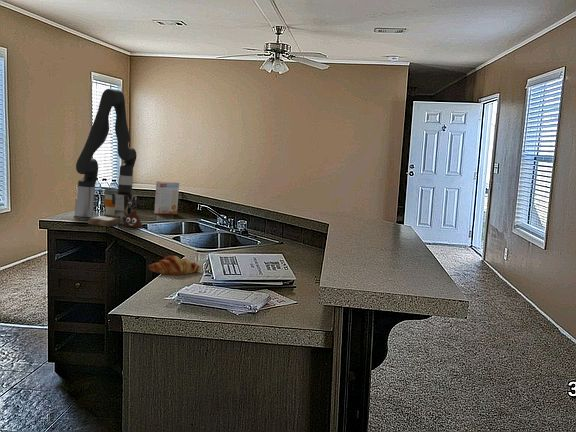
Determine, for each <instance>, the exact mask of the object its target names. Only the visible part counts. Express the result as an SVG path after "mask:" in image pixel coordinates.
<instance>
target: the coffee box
mask: <svg viewBox="0 0 576 432" xmlns="http://www.w3.org/2000/svg"><path fill="white" fill-rule="evenodd" d="M132 196H134V194H132ZM130 201H131V204H132V201H133V200H132V198H131V199H129V195H125V194H116V200H115V212H114V216H113V218H118V219H120V224H119V225H124V222H125V221H126V218H127V217H128V216H129V215H128V208H129V207H128V202H130Z"/></svg>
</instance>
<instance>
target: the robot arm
mask: <svg viewBox="0 0 576 432" xmlns="http://www.w3.org/2000/svg"><path fill="white" fill-rule="evenodd" d="M113 107H114V111H115V123H114V133H115V136H116V141H117V155H118V157H119V158H120V159H121V160H122V161H123V163H122V164H121V165H120V166H119V176H118V183H117V189H118V194H125V195H129V199H131V198H132V200H133V201H132V204H131V201H130V202H128V207H129V208H128V215H130V214H131V212H132V211H133V208H136V205H137V200H138V199H137V198H138V196H136V195H135V196H134V195H133V185H134V182H133V181H134V180H133V179H134V178H133V175H134V173H133V172H134V166H135V164H136V160H137V151H136V149H135V148H133V147H129V143H131V136H130V135H131V134H130V131H129V126H128V121H127V111H126V101H125V96H124V93H123V92H122V91H121V90H119V89H114V88H107V89H105V90H104V91H103V92H102V94H101V98H100V101H99V104H98V109H97V112H96V115H95V117H94V121H93V123H92V126H91V128H90V131H89V133H88V135H87V138H86V141H85V144H84V146H83V148H82V150H81V153H80V155H79V156H78V159H77V161H76V164H75V169H76V172H77V173H78V174H80V175H83V177H82V178H81V179H80V180H78V182H77V194H76V196H77V197H76V198H75V200H74V215H73V216H75V217H79V218H92V217H94V207H95V193H96V190H95V188H96V183H97V182H98V176H99V175H98V173H99V163H98V161H97V159H95V158H93V156H94V155H95V153H96V151H97V150H99V148H100V147H102V146H103V144H104V143H105V141H106V139H107V137H108V135H109V132H110V121H109V118H110V113H111V110H112V108H113ZM132 195H133V196H132ZM115 200H116V194H112V204H113V205H115Z"/></svg>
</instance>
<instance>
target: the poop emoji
mask: <svg viewBox="0 0 576 432" xmlns="http://www.w3.org/2000/svg"><path fill="white" fill-rule="evenodd" d="M141 221H142V220H141V219H140V215H139V214H138V212H137V209H135V210H134V209H133V210H132V212H131V214H130V215H129V216H128V217H127V218H126V221H125V222H124V224H123V226H124V227H125V228H134V229H141V228H143V223H142V222H141Z"/></svg>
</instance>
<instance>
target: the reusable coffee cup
mask: <svg viewBox="0 0 576 432" xmlns="http://www.w3.org/2000/svg"><path fill="white" fill-rule="evenodd" d="M103 194H104V198H103V202H104V203H103V204H104V210H105V215H107V216H112V217H114V212H115V205H113V204H112V194H118V188H105V189H104V191H103Z"/></svg>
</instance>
